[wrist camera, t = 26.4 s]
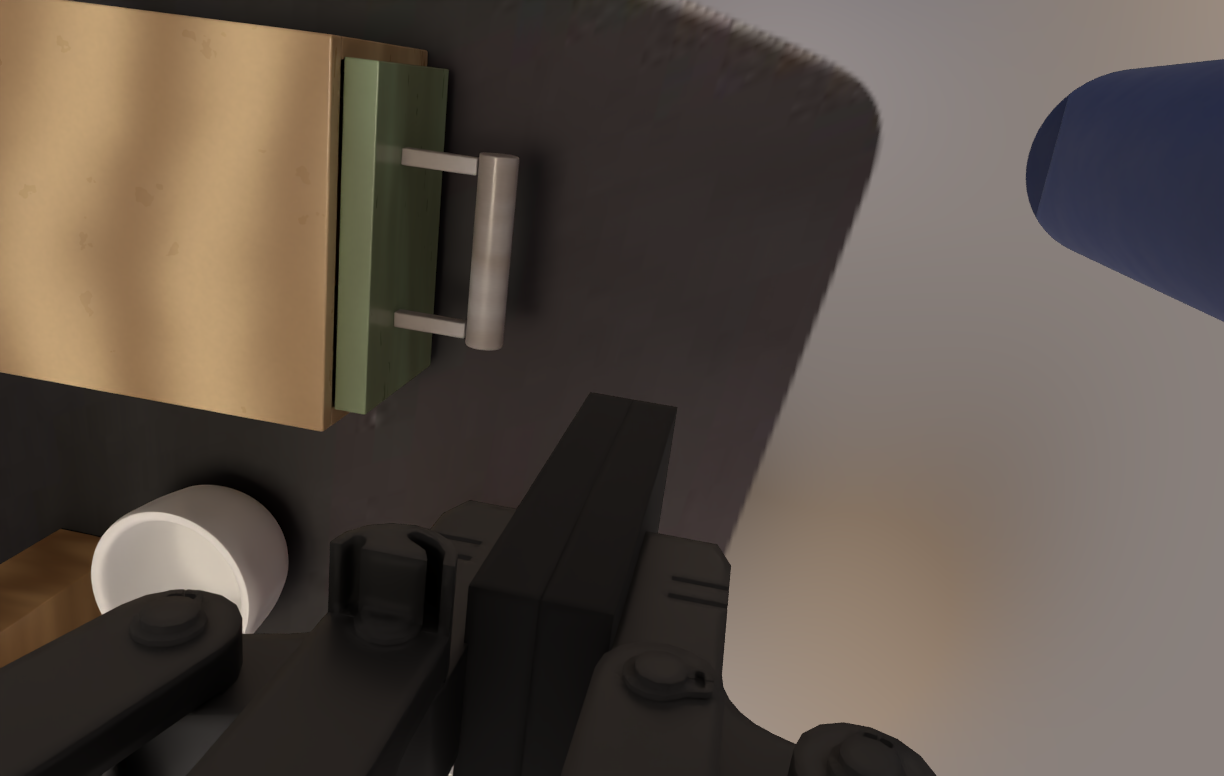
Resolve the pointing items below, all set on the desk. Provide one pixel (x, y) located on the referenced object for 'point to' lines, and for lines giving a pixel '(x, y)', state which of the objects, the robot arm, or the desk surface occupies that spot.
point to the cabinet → (172, 206)
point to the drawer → (407, 231)
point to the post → (46, 592)
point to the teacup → (194, 552)
